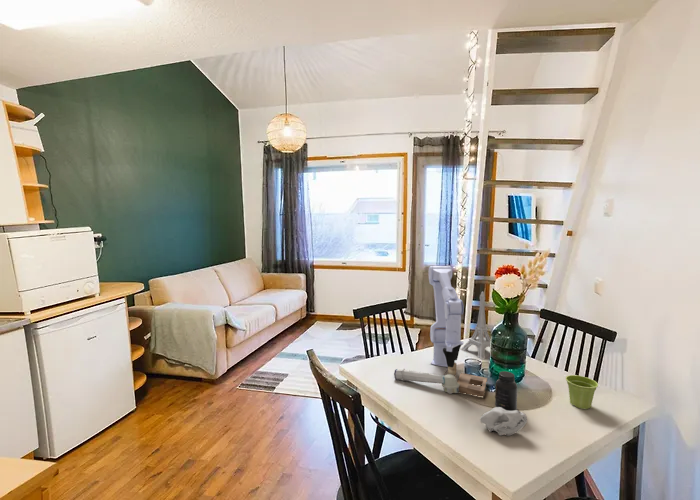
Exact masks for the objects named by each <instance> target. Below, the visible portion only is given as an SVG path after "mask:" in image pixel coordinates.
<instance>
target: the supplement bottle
mask: <svg viewBox="0 0 700 500" xmlns="http://www.w3.org/2000/svg"><path fill="white" fill-rule="evenodd" d="M494 397H495V398H494V399H495V407H501V408H503V409H505V410H507V411H514V410H518V408H517V407H518V384H517V382H516V381H515V374H514V373H512V371H511V372H510V371H504V370H502V371H499V373H498V379H497V380H496V381H495V396H494Z"/></svg>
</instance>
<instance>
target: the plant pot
mask: <svg viewBox="0 0 700 500" xmlns="http://www.w3.org/2000/svg"><path fill="white" fill-rule="evenodd" d="M565 381H566V383H567V387H568V395H569V403H570V404H571V405H572V406H575V407H576V408H578V409H582V410H589V409H592V404H593V399H594V395H595V391H596V390H597V388H598V387H599V383H598V382H597V381H596V380H594V379H592V378H589V377H586V376H583V375H577V374H573V375H572V374H570V375H567V376H566V377H565Z"/></svg>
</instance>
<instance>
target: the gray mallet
mask: <svg viewBox="0 0 700 500" xmlns="http://www.w3.org/2000/svg"><path fill="white" fill-rule="evenodd" d="M393 376H394V377H393V378H394V379H395V380H398V381H399V380H400V381H402V382H405V381H408V382H409V381H411V382H420V383H430V384H441V386H442V388H443V392H444V393H447V394H449V395H450V394H458V392H459V388H458V387H459V386H460V385H459V383H458V382H457V381H458V380H457V377H455V376H454V375H450V374H448V373H447V374H445V375H443V374H436V373H429V372H421V371H415V370H410V369H409V370H408V369H405V368H403V369H398V368H395V369H394V373H393Z"/></svg>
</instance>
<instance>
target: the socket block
mask: <svg viewBox="0 0 700 500" xmlns="http://www.w3.org/2000/svg"><path fill="white" fill-rule="evenodd" d="M456 381H457V382H458V383H459V385H460V386H459V387H458V388H459V392H460V393H459V394H463V393H466V394H465V395H467V394H472V395H477V396H483V397H484V398H485V394H486V391H485V388H486V389H487V387H486V382H487V383H488V377H483V376H479V375H474V374H469V373H463V372H460V374H459V377H458V379H457V380H456ZM472 384H474V385H472ZM481 384H482V386H477V385H481ZM484 393H485V394H484Z"/></svg>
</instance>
